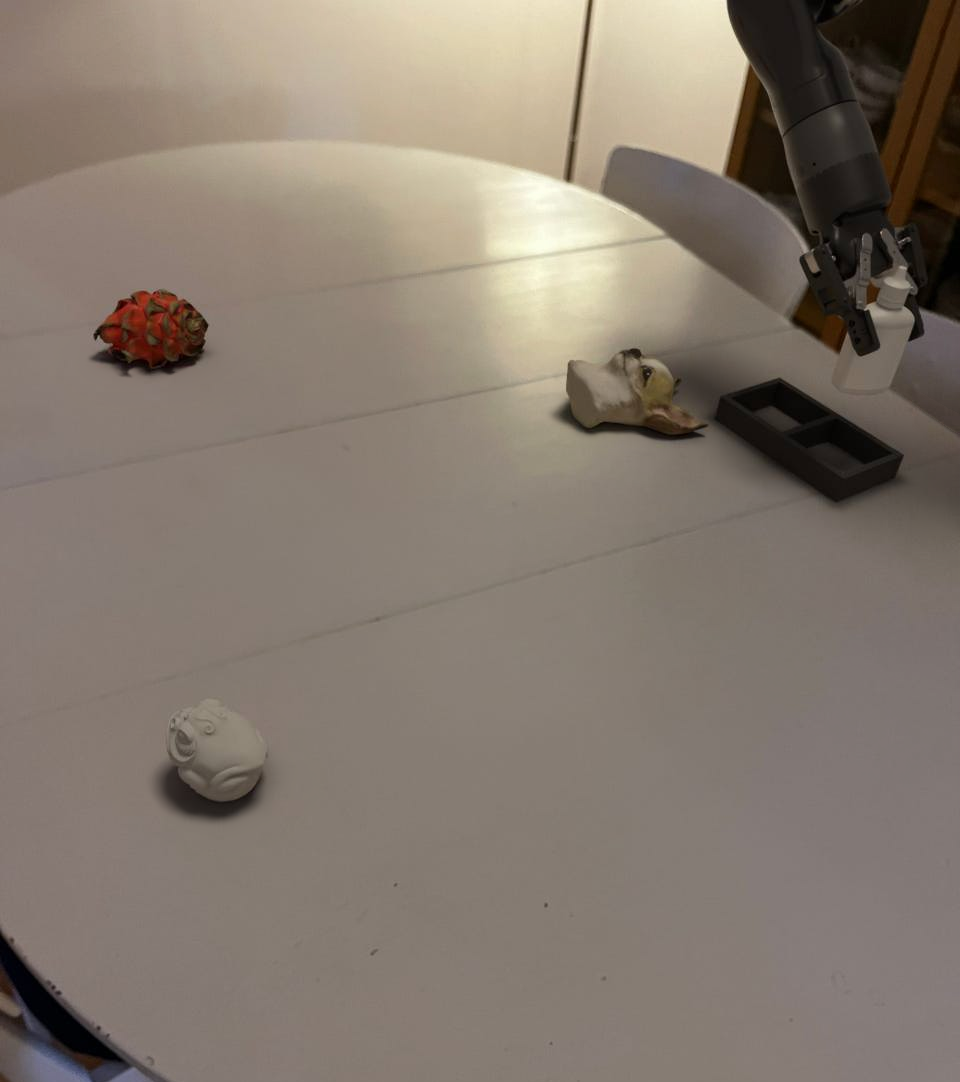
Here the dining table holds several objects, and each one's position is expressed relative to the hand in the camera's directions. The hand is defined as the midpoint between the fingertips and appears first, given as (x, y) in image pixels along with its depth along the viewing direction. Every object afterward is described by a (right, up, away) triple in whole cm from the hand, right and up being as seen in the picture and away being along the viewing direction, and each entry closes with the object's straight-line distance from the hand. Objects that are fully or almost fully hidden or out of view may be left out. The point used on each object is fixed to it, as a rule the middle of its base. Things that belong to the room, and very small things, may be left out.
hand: (892, 345), depth 98 cm
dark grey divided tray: (-4, -8, +14) cm, 16 cm away
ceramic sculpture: (-23, -4, +16) cm, 28 cm away
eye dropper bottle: (-1, -3, +5) cm, 6 cm away
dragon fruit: (-74, +3, +17) cm, 76 cm away
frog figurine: (-56, -38, -24) cm, 72 cm away
